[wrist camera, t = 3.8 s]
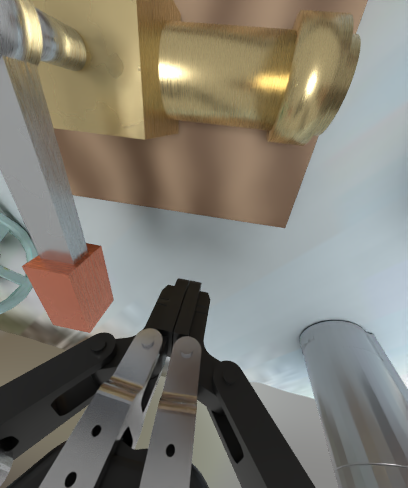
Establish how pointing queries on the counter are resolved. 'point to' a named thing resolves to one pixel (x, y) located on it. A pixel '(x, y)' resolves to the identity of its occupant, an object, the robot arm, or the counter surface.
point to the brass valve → (191, 70)
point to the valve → (3, 225)
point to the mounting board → (203, 143)
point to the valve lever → (44, 181)
